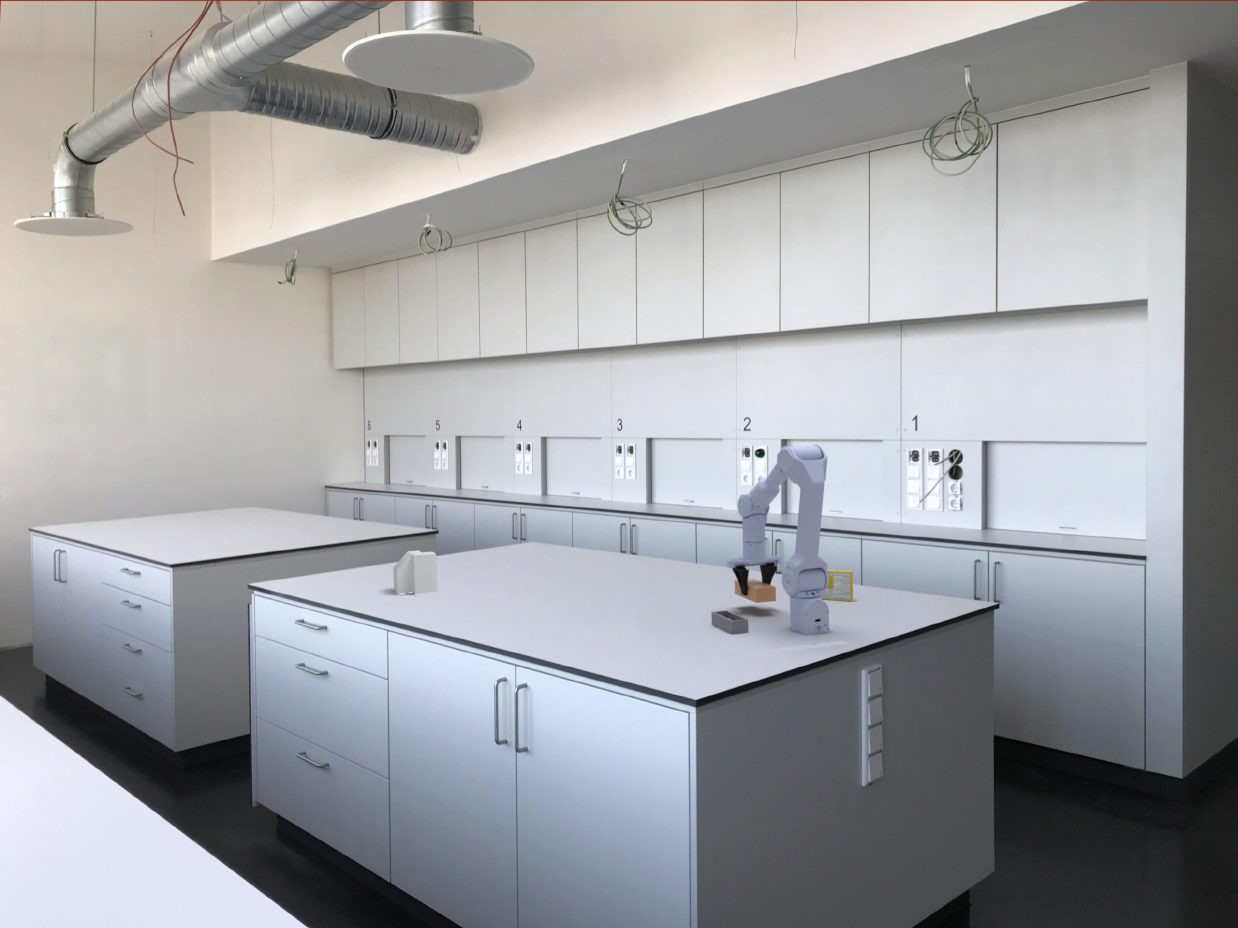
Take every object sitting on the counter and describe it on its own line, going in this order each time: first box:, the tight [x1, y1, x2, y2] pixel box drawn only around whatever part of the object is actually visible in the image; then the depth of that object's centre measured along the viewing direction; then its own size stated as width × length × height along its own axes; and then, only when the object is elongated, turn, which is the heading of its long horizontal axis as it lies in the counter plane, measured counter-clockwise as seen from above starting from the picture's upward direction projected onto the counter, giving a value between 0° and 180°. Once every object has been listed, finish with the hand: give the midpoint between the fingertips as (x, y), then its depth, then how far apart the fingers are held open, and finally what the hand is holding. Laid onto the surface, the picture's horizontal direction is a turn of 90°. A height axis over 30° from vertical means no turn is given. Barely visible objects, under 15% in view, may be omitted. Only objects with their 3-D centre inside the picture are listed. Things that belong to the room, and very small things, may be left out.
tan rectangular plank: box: [734, 578, 777, 604], centre depth 246 cm, size 13×5×4 cm, turn 18°
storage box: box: [711, 609, 749, 635], centre depth 228 cm, size 11×4×4 cm, turn 19°
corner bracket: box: [392, 549, 439, 595], centre depth 292 cm, size 11×11×12 cm
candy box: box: [821, 569, 854, 603], centre depth 264 cm, size 16×2×8 cm, turn 59°
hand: (755, 593), depth 246 cm, fingers closed on tan rectangular plank, 5 cm apart
